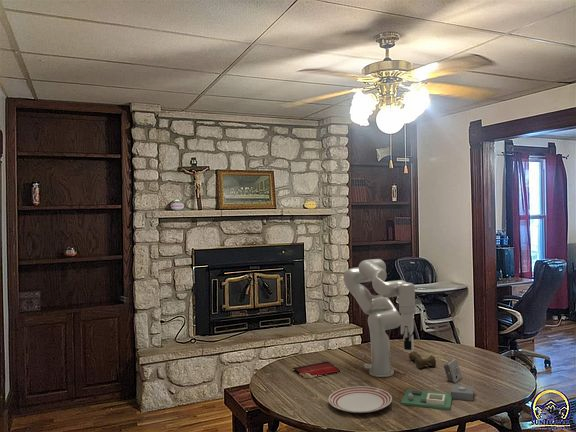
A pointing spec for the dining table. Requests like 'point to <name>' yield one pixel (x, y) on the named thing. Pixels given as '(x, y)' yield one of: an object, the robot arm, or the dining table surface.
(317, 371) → the binder
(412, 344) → the plug
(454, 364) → the electrical switch
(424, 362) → the brown bone-shaped piece
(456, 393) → the grey knob block
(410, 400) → the board
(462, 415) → the dining table surface
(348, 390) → the dinner plate
